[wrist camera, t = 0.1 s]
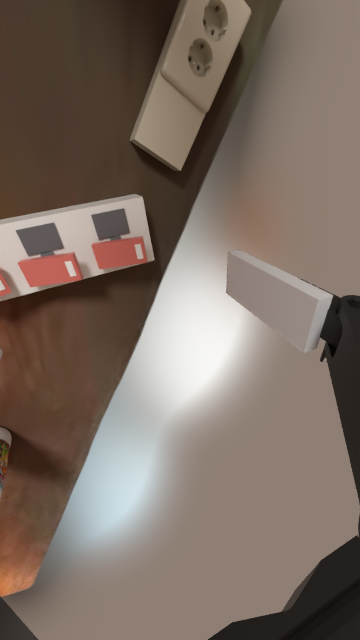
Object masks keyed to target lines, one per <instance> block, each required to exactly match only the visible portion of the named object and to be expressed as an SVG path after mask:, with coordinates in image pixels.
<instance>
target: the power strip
mask: <svg viewBox="0 0 360 640" xmlns="http://www.w3.org/2000/svg"><path fill="white" fill-rule="evenodd" d="M139 236H143V240H144V245H145V250H146V254H147V259H148V262H150V261H154V255H153V249H152V244H151V239H150V234H149V228H148V223H147V218H146V212H145V207H144V202H143V197H142V196H139V195H137V194H133V195H127V196H122V197H117V198H112V199H107V200H101V201H96V202H91V203H86V204H80V205H75V206H70V207H65V208H60V209H54V210H49V211H44V212H39V213H33V214H28V215H23V216H18V217H13V218H7V219H2V220H0V273H1V275H2V276H3V278H4V280H5V281H6V283H7V285H8V287H9V288H10V290H11V293H9V294H6V295H3V296H0V301H3V300H7V299H11V298H14V297H18V296H22V295H26V294H30V293H33V292H37V291H41V290H45V289H48V288H52V287H56V286H60V285H63V284H67V283H71V282H65V283H58V284H51V285H44V286H37V287H31V288H30V286H29V284H28V282H27V280H26V278H25V276H24V274H23V273H22V271H21V269H20V267H19V265H18V262H19V261H20V260H24V259H31V258H38V257H45V256H52V255H58V254H65V253H72V252H75V255H76V258H77V260H78V263H79V266H80V268H81V271H82V274H83V276H84V277H83V279H86V278H90V277H93V276H97V275H101V274H105V273H108V272H112V271H116V270H120V269H124V268H127V267H131V266H135V265H139V264H134V265H127V266H120V267H114V268H107V269H100V270H99V267H98V264H97V261H96V258H95V255H94V252H93V249H92V246H91V245H92V244H93V243H98V242H105V241H112V240H118V239H125V238H132V237H139ZM141 264H142V263H141ZM72 282H75V281H72Z"/></svg>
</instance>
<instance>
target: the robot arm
mask: <svg viewBox="0 0 360 640" xmlns="http://www.w3.org/2000/svg"><path fill="white" fill-rule="evenodd" d="M226 293H227V294H228V295H230V296H231V297H232V298H233V299H235V300H236V301H237V302H238V303H240V304H241V305H242V306H244V307H245V308H246V309H248V310H249V311H250V312H251V313H253V314H254V315H255V316H256V317H258V318H259V319H260V320H262V321H263V322H264V323H265V324H267V325H268V326H269V327H270V328H272V329H273V330H274V331H276V332H277V333H278V334H279V335H281V336H282V337H283V338H285V339H286V340H287V341H288V342H290V343H291V344H292V345H294V346H295V347H296V348H297V349H299V350H300V351H301V352H303V353H305V352H308V351H311V350H313V349H316V348H317V345H318V342H319V339H320V338H322V339H323V340H325V341H326V343H325V347H324V350H323V353H322V355H321V358H320V361H321V362H323V360H324V358H325V357H326V358H327V363H328V367H329V371H330V376H331V380H332V384H333V389H334V393H335V397H336V401H337V406H338V411H339V414H340V419H341V424H342V428H343V432H344V437H345V441H346V445H347V449H348V454H349V458H350V463H351V467H352V472H353V476H354V480H355V485H356V489H357V493H358V498H359V502H360V296H356V295H348V296H344V297H342V298H340V297H338V296H336V295H334V294H332V293H330V292H327V291H325V290H323V289H321V288H317V286H315V285H313V284H310V283H309V282H307V281H304V280H302V279H299V278H296V277H294V276H292V275H290V274H288V273H286V272H284V271H282V270H280V269H278V268H276V267H274V266H271V265H270V264H267V263H265V262H263V261H261V260H259V259H257V258H255V257H253V256H251V255H249V254H247V253H245V252H243V251H241V250H236V251H231V252H228V267H227V289H226ZM1 355H2V350H1V348H0V359H1ZM358 530H359V537H358V536H355V537H354V538H352V539H351V540H350V541H348V542H347V543H345V544H344V545H342V546H341V547H339V548H338V549H337V550H335V551H334V552H332V553H331V554H329V555H328V556H327V557H325V558H324V559H322V560H321V561H320V562H319V563H318V565H317V566H316V567H315V568H314V569H313V570H312V572H311V573H310V574H309V575H308V576H307V577H306V578H305V580H304V581H303V582H302V583H301V584H300V585H299V586H298V588H297V589H296V590H295V591H294V593H293V595H292V596H291V598H290V599H289V601H288V602H287V604H286V606H285V607H284V609H283V610H282V612H279V613H274V614H269V615H265V616H260V617H255V618H251V619H247V620H241V621H237V622H232V623H231V624H229V625H228V626H227V627H225V628H224V629H222V630H221V631H219V632H218V633H217V634H215V635H214V636H212V637H211V638H209V639H208V640H360V517H359V524H358ZM0 640H38V639H37V638H36V637H35V635H33V633H32V632H31V631H30V630H29V629H28V627H27V626H26V625H25V624H24V623H23V622H22V621H21V619H20V618H19V617H18V616H17V615H16V614H15V613H14V611H13V610H12V609H11V608H10V607H9V606H8V605H7V603H6V602H5V601H4V600H3V599H2V598H1V597H0Z"/></svg>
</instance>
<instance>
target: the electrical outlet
mask: <svg viewBox="0 0 360 640" xmlns="http://www.w3.org/2000/svg"><path fill="white" fill-rule="evenodd" d="M250 16H251V9H250V8H249V6H248V5H247V3H246V2H245V1H244V0H180V2H179V5H178V8H177V10H176V13H175V16H174V19H173V21H172V24H171V27H170V30H169V33H168V35H167V38H166V41H165V44H164V46H163V49H162V52H161V55H160V57H159V60H158V63H157V66H156V69H155V71H154V74H153V77H152V80H151V82H150V85H149V88H148V91H147V94H146V96H145V99H144V102H143V105H142V107H141V110H140V113H139V116H138V119H137V121H136V124H135V127H134V130H133V132H132V135H131V138H130V141H131V142H132V143H134V144H135V145H137V146H138V147H140V148H141V149H143V150H144V151H146V152H147V153H149V154H150V155H152V156H153V157H155V158H156V159H157V160H159V161H160V162H162V163H163V164H165V165H166V166H168V167H169V168H171V169H172V170H174V171H181V169H182V167H183V165H184V162H185V160H186V158H187V156H188V153H189V151H190V149H191V146H192V144H193V142H194V140H195V137H196V135H197V133H198V130H199V128H200V126H201V124H202V121H203V119H204V117H205V114H206V112H208V111H209V109H210V107H211V105H212V102H213V100H214V98H215V95H216V93H217V91H218V89H219V86H220V84H221V82H222V80H223V77H224V75H225V73H226V70H227V68H228V66H229V64H230V61H231V59H232V57H233V54H234V52H235V50H236V48H237V45H238V43H239V41H240V39H241V36H242V34H243V32H244V29H245V27H246V25H247V23H248V20H249V18H250Z"/></svg>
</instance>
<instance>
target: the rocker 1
mask: <svg viewBox="0 0 360 640" xmlns="http://www.w3.org/2000/svg"><path fill="white" fill-rule="evenodd" d="M9 293H11V290H10V288H9V287H8V285H7V283H6V281H5V280H4V278H3V276H2V275H1V273H0V296H3V295H6V294H9Z"/></svg>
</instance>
